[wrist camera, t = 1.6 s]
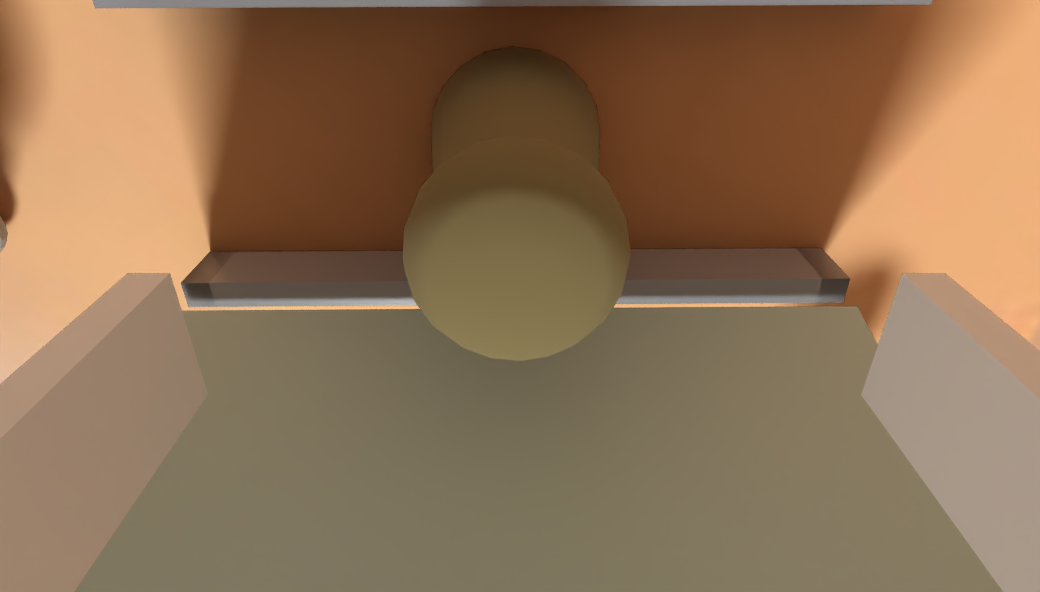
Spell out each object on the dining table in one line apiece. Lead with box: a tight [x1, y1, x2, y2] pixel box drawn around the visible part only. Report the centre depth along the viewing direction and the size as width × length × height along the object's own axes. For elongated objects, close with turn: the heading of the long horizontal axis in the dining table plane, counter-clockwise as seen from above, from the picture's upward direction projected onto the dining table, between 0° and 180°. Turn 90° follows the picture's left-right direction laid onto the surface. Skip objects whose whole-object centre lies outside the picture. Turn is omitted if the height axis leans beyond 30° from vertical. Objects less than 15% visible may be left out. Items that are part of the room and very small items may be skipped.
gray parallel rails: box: [93, 0, 932, 307], centre depth 22 cm, size 24×11×2 cm, turn 90°
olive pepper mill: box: [403, 47, 631, 361], centre depth 18 cm, size 6×6×11 cm
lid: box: [74, 306, 1003, 592], centre depth 19 cm, size 24×11×1 cm
